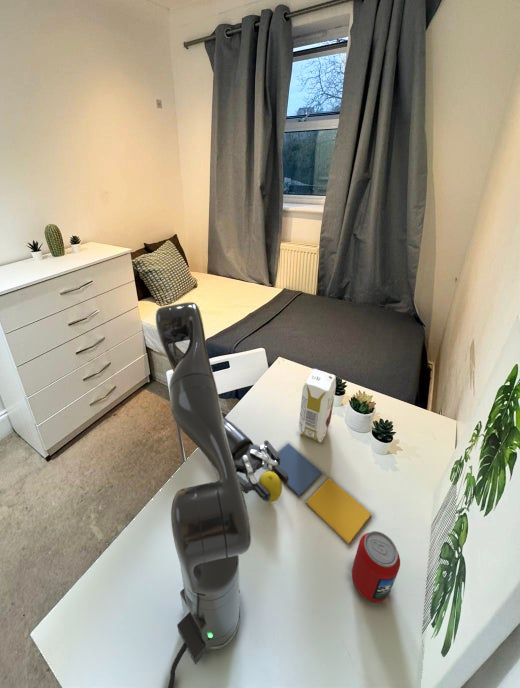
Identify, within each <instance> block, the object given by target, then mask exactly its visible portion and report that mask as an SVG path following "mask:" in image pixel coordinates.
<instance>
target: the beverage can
mask: <svg viewBox="0 0 520 688" xmlns="http://www.w3.org/2000/svg"><path fill="white" fill-rule="evenodd" d="M400 567H401V557H400V554H399V551H398V549H397V546H396V544H395V543H394V541H393V540H392V538H390V537H389V536H388V535H386V534H385V533H383V532H380V531H376V530H373V531H370V532H366V533H364V534H363V535H362V536H361V537H360V539H359V542H358V545H357V549H356V552H355V556H354V560H353V563H352V568H351V579H352V581H353V582H352V583H353V585H354V587H355V588H356V590H357V591H358V593H359V595H361V596H362V597H363V598H364V599H366V600H368V601H369V602H372V603H377V604H380V603H383V602H385V601H386V600H387V599H388V597H389V595H390V593H391V591H392V589H393V586H394V583H395V582H396V578H397V576H398V573H399V570H400Z"/></svg>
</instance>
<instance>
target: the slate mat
mask: <svg viewBox="0 0 520 688" xmlns="http://www.w3.org/2000/svg"><path fill="white" fill-rule="evenodd" d="M277 453H278V454H279V455H280V465H279V466H280V467H281V468H282V469H283V470H284V471H285V472H286V473H287V474H288V478H289V480H288V483H287V484H286V485H287V487H289V489H291V491H293V492H294V493H295V494H296V495H297V497H300V496H301V495H302V494H303V493H304V492H306V490H307V489H308V488H310V486H311V485H312V484H313V483H314V482H315V481H316V480H317V479H318V478H320V476H321V475H322V474H323V471H321V470H320V469H319V468H318V467H317V466H316V465H314V464H313V463H312V462H311V461H310V460H308V459H307V458H306V457H305V456H304V455H302V453H300V452H299V451H298V450H297V449H296V448H294V447H293V446H292V445H291V444H290V443H287V444H286V445H285V446H284V447H282V448H281V449H280V450H279V451H278V452H277Z"/></svg>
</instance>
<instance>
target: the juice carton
mask: <svg viewBox="0 0 520 688" xmlns="http://www.w3.org/2000/svg"><path fill="white" fill-rule="evenodd" d="M336 379H337V377H336V375H335V374H332V373H329V372H326V371H323V370H319V369H318V368H312V369H311V371H310V373H309V375H308V377H307V379H306V381H305V383H304V384H303V387H302V392H301V401H300V412H299V419H298V420H299V422H298V427H299V434H300V435H302V436H303V437H306V438H309V439H311V440H314V441H316V442H318V443H322V442H323V440H324V439H325V436H326V434H327V432H328V428H329V426H330V424H331V420H332V415H333V409H334V402H335V395H336V388H337V381H336Z"/></svg>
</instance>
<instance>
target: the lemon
mask: <svg viewBox="0 0 520 688" xmlns="http://www.w3.org/2000/svg"><path fill="white" fill-rule="evenodd" d="M258 482H259V483H260V484H261V485H262V486H263V487H264V488H265V489H266V490H267V491H268V492H269V493H270V495H271V497H270V500H269V501H266V500H265V501H264V502H267V503H274V502H276V501H278V500H279V499H280V497H281V495H282V492H283V484H282V481H281V480H280V478H279V476H278V475H277V474H276V473H274V472H273V471H271V470H266V471H264V472H263V473H262V474H261V475H260V477H259V479H258Z"/></svg>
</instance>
